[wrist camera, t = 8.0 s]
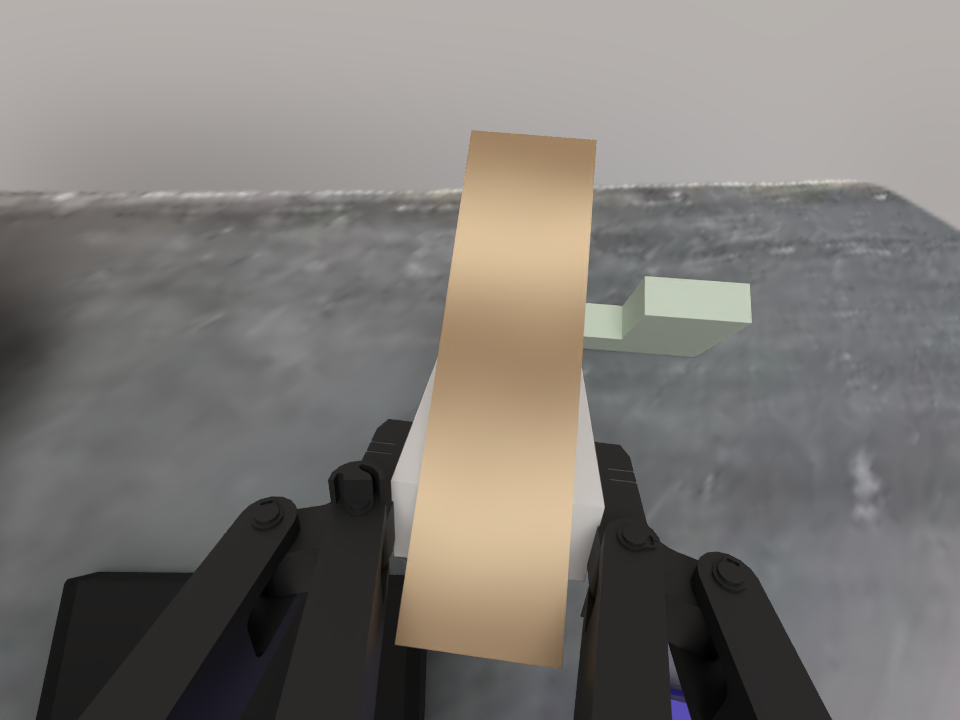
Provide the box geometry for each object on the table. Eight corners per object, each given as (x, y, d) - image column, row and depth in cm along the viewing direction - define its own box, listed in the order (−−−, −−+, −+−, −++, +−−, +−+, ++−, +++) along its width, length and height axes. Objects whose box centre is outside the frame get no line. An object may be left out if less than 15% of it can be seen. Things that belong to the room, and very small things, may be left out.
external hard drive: (103, 570, 33) (65, 579, 30) (430, 574, 32) (424, 584, 29) (56, 815, 29) (8, 852, 26) (422, 824, 29) (415, 863, 26)
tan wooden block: (529, 582, 18) (562, 669, 10) (441, 570, 18) (394, 644, 10) (555, 279, 22) (596, 140, 13) (480, 272, 22) (471, 130, 13)
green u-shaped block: (458, 338, 36) (449, 300, 28) (461, 308, 37) (453, 262, 29) (694, 357, 35) (751, 323, 27) (693, 326, 36) (749, 283, 28)
